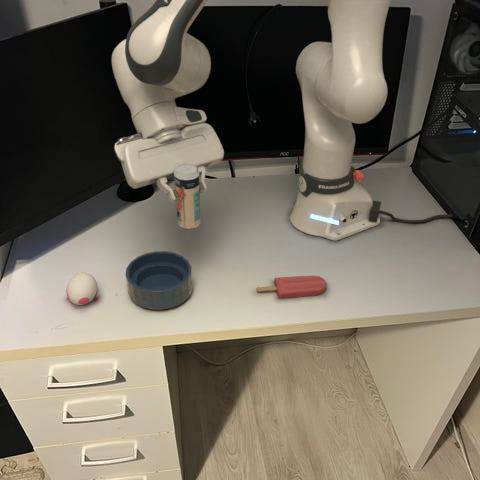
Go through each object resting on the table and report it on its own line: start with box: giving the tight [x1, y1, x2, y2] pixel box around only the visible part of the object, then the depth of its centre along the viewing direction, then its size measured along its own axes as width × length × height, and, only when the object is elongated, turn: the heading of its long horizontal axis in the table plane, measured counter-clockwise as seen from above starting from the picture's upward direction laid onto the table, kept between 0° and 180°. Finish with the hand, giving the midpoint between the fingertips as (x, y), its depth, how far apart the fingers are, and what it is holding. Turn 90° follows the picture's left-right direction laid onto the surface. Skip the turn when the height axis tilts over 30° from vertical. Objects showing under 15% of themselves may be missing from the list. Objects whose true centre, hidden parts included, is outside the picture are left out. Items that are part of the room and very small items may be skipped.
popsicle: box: [256, 275, 328, 299], centre depth 109 cm, size 5×2×15 cm
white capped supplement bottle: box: [173, 164, 202, 230], centre depth 100 cm, size 5×5×12 cm
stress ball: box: [65, 272, 99, 306], centre depth 105 cm, size 8×8×7 cm
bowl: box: [125, 250, 193, 310], centre depth 107 cm, size 13×13×6 cm
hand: (189, 196), depth 99 cm, fingers closed on white capped supplement bottle, 5 cm apart
